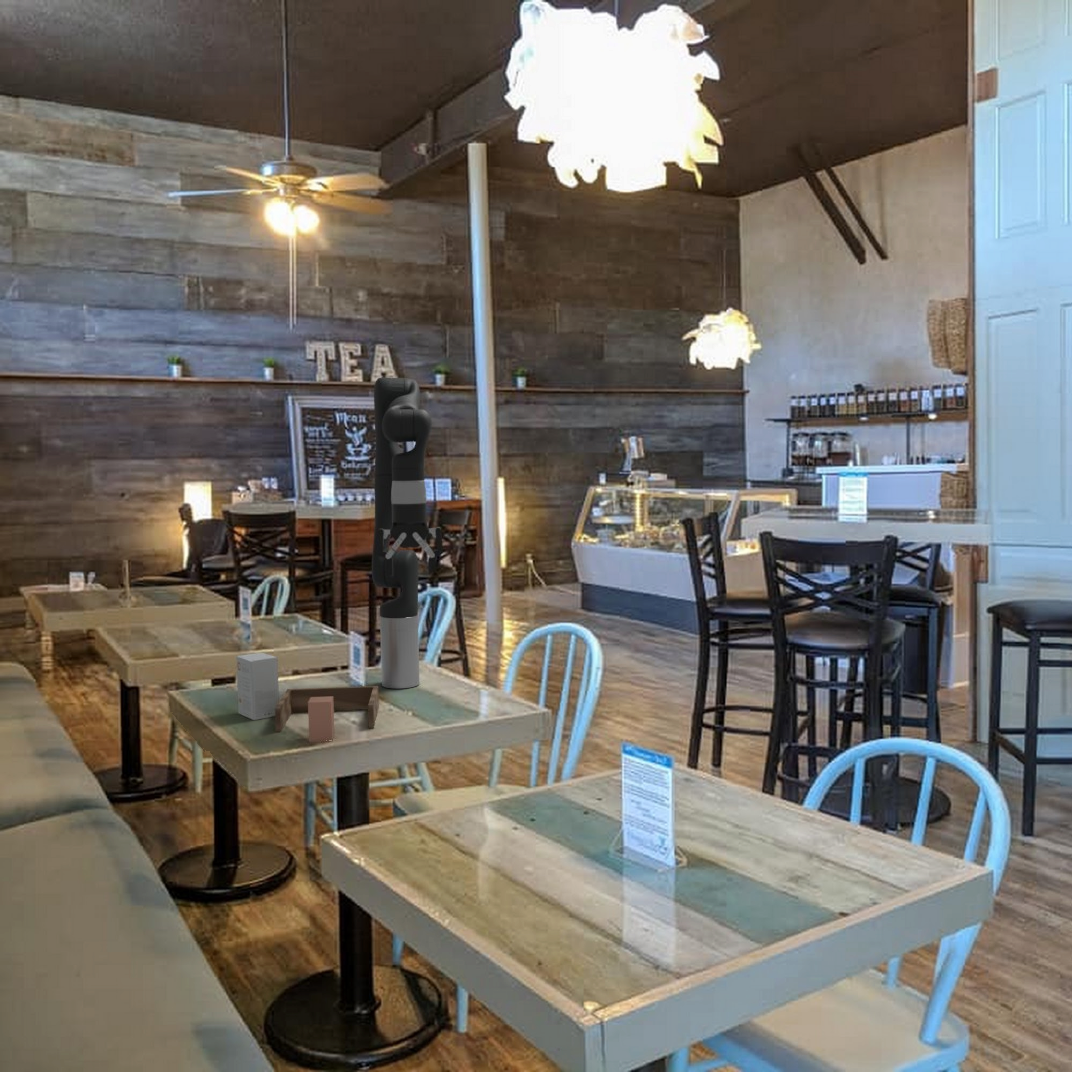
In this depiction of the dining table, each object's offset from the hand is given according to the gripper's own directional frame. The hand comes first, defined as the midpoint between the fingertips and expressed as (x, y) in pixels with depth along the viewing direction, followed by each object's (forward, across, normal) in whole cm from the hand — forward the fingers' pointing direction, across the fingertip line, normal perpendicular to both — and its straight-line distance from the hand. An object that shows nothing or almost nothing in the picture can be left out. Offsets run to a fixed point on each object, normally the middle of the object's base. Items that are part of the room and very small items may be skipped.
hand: (410, 575), depth 227 cm
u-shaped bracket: (+30, +18, +6) cm, 36 cm away
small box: (+30, +34, -1) cm, 46 cm away
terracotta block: (+30, +18, +20) cm, 40 cm away
